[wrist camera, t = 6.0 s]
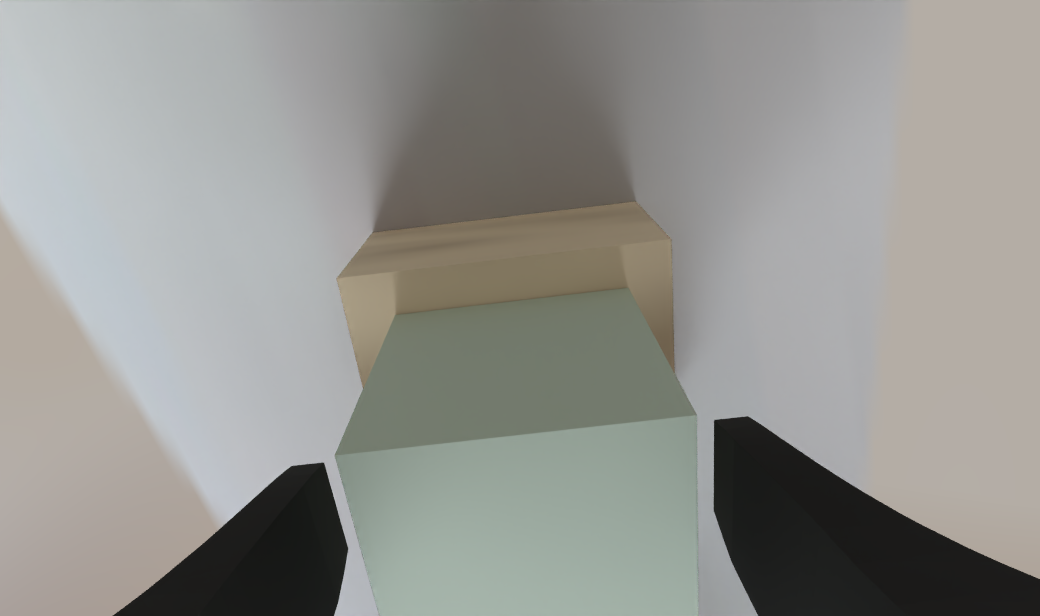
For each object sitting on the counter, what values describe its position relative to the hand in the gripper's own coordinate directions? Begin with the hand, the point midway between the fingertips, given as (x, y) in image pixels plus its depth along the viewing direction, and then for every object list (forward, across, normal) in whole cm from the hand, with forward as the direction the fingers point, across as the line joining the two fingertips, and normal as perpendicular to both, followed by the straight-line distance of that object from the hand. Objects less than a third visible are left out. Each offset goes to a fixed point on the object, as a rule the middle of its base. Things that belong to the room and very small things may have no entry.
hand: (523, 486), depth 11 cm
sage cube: (+3, 0, 0) cm, 3 cm away
